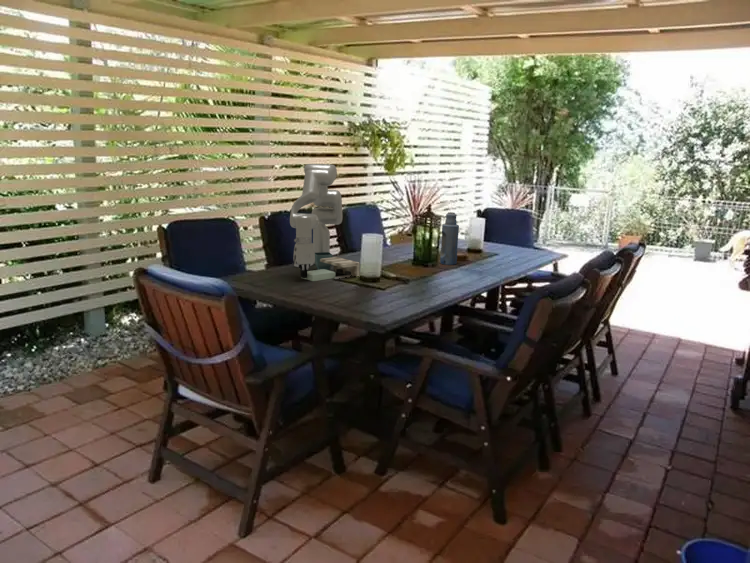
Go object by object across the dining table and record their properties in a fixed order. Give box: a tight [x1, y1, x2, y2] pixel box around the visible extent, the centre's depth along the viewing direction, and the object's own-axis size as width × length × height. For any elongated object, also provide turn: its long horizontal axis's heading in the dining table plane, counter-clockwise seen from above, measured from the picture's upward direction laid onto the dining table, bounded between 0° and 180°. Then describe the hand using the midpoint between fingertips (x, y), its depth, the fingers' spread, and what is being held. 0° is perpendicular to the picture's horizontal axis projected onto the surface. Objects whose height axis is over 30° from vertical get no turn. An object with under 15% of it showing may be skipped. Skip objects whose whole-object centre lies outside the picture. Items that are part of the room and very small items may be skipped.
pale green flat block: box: [300, 269, 337, 282], centre depth 298 cm, size 10×14×3 cm
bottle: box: [439, 211, 460, 266], centre depth 343 cm, size 10×10×30 cm
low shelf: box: [320, 256, 361, 280], centre depth 305 cm, size 20×14×8 cm
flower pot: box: [314, 252, 334, 271], centre depth 318 cm, size 9×9×9 cm
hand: (303, 277), depth 292 cm, fingers closed
